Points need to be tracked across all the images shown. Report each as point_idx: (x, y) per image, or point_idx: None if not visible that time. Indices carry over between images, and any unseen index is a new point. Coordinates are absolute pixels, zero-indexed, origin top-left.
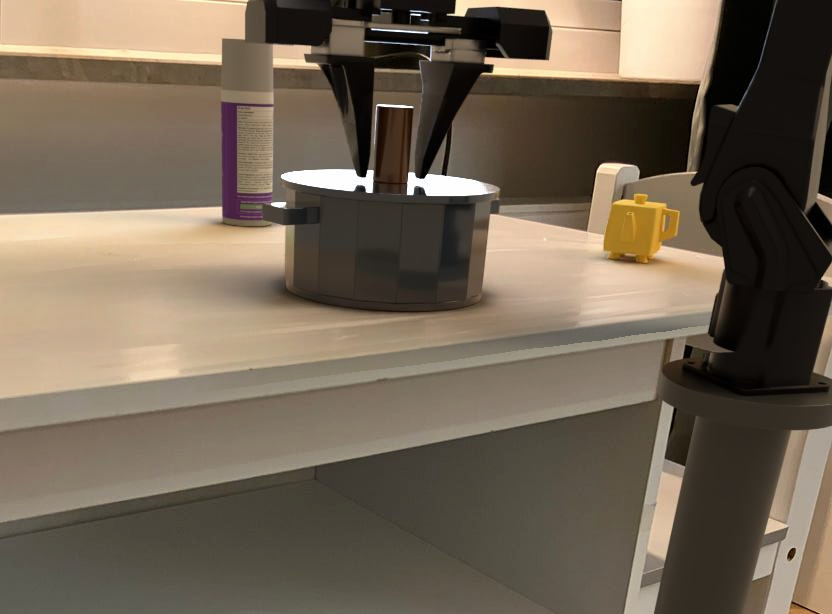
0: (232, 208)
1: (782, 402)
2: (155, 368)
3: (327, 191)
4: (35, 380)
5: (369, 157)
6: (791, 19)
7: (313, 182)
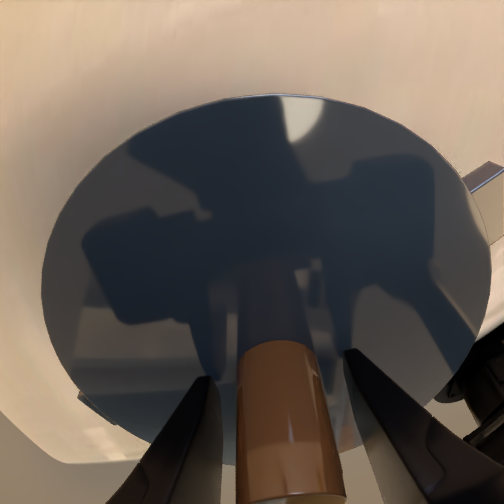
0: None
1: (455, 399)
2: (112, 451)
3: None
4: (77, 453)
5: (222, 434)
6: None
7: (127, 410)
